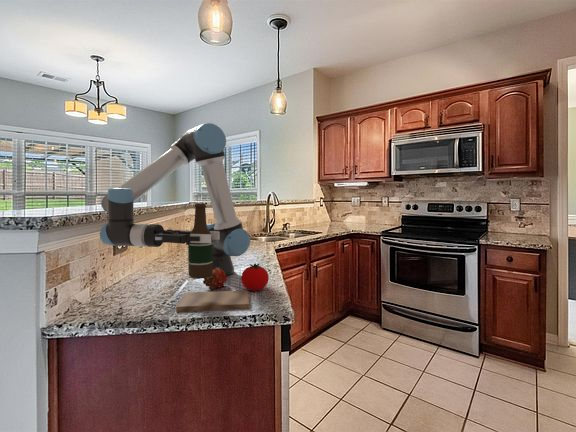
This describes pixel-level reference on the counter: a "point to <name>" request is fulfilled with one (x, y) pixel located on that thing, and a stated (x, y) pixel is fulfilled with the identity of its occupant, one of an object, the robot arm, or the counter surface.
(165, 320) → the counter surface
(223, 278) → the dragon fruit
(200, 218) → the beer bottle
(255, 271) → the tomato
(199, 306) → the wooden cutting board
